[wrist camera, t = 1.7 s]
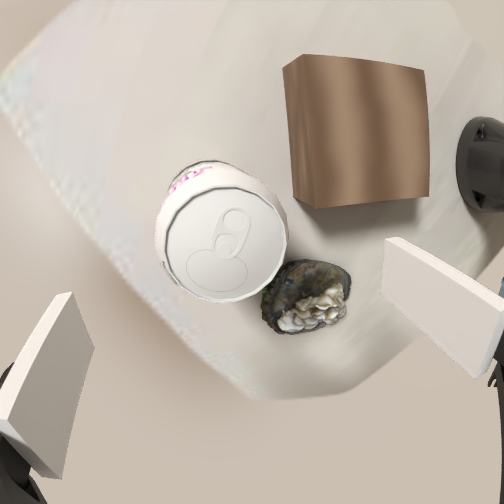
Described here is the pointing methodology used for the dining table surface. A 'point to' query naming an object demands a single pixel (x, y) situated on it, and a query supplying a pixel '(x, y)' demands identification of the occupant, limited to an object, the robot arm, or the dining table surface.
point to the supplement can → (220, 232)
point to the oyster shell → (305, 296)
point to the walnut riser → (356, 130)
